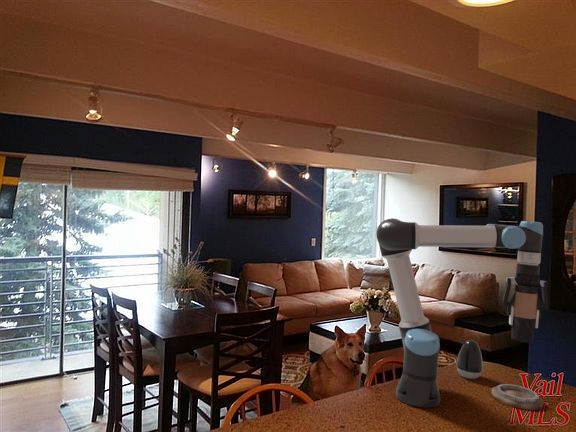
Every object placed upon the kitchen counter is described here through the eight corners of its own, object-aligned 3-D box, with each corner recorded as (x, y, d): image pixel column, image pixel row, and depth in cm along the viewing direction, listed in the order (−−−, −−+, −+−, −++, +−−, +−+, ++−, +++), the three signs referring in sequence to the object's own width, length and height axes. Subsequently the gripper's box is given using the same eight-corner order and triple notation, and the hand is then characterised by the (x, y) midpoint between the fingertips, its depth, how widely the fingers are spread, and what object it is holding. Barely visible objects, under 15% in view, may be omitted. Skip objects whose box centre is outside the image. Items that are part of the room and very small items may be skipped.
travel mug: (536, 343, 163) (541, 288, 163) (513, 341, 165) (518, 285, 164) (529, 338, 171) (534, 284, 170) (507, 335, 173) (512, 282, 172)
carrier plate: (495, 404, 163) (495, 396, 163) (488, 386, 179) (488, 379, 179) (548, 413, 158) (549, 405, 158) (536, 394, 174) (537, 387, 174)
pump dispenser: (463, 370, 196) (466, 335, 196) (486, 378, 188) (489, 342, 188) (450, 374, 190) (453, 338, 189) (474, 383, 182) (477, 345, 181)
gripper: (499, 261, 167) (494, 324, 167) (563, 267, 161) (557, 332, 161) (496, 259, 174) (491, 319, 174) (557, 265, 168) (551, 327, 169)
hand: (523, 325), depth 168 cm, fingers closed on travel mug, 8 cm apart
